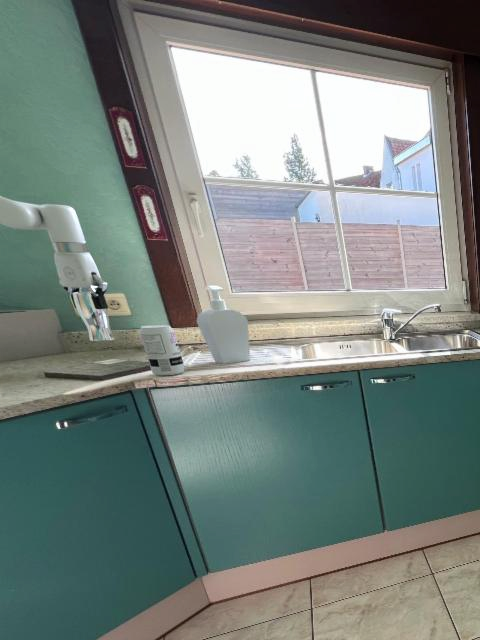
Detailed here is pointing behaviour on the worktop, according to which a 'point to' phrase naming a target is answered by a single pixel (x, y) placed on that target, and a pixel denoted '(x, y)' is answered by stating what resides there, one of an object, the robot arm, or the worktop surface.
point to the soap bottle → (224, 330)
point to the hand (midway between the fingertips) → (91, 308)
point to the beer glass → (93, 317)
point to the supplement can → (162, 349)
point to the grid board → (101, 370)
